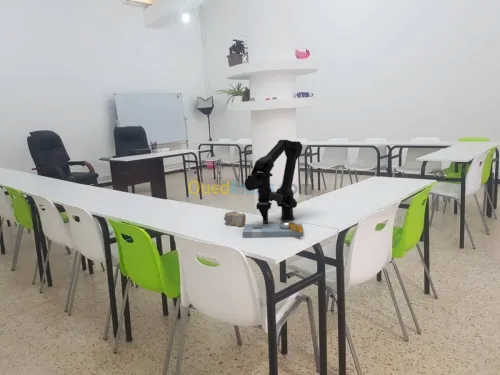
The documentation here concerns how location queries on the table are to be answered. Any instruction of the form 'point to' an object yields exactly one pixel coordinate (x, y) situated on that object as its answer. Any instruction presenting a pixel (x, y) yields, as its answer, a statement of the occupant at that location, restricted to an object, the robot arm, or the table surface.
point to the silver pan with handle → (290, 226)
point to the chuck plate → (269, 231)
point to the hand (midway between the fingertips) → (265, 219)
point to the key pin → (266, 220)
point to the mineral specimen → (235, 218)
